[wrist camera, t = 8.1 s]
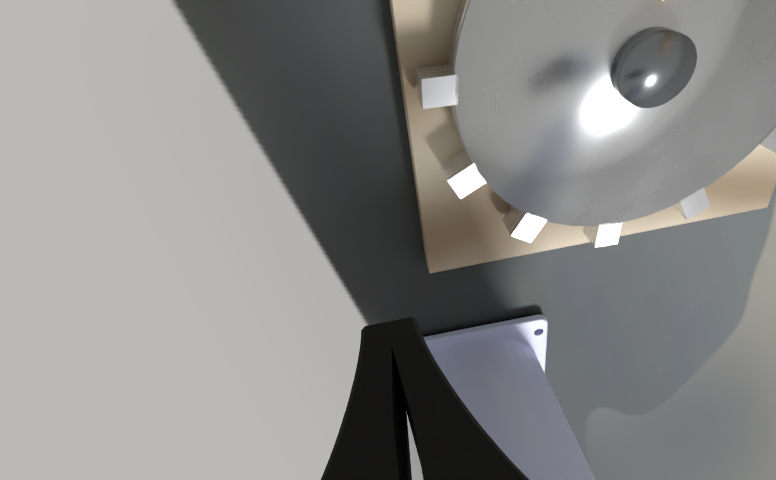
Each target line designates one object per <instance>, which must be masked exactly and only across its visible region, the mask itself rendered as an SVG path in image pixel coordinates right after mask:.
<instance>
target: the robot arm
mask: <svg viewBox="0 0 776 480" xmlns="http://www.w3.org/2000/svg"><path fill="white" fill-rule="evenodd" d="M547 327H548V323H547V320H546V318H545V317H544V316H543V315H533V316H528V317H523V318H518V319H513V320H508V321H503V322H497V323H492V324H487V325H482V326H477V327H472V328H467V329H462V330H457V331H452V332H446V333H441V334H436V335H431V336H426V337H423V336H422V334H421V331H420V329H419V326H418V323H417V320H416V319H414V318H412V317H410V318H405V319H400V320H395V321H390V322H384V323H379V324H374V325H369V326H365V327H364V328H363V329H362V330H361V344H360V352H359V358H358V363H357V369H356V373H355V378H354V381H353V386H352V389H351V394H350V398H349V401H348V405H347V408H346V411H345V415H344V418H343V421H342V424H341V427H340V430H339V434H338V436H337V439H336V442H335V445H334V448H333V451H332V453H331V456H330V459H329V461H328V464H327V466H326V469H325V471H324V473H323V476H322V478H321V480H412V476H411V464H410V451H409V439H408V426H407V415H408V419H409V422H410V426H411V430H412V433H413V437H414V441H415V445H416V448H417V452H418V456H419V459H420V463H421V467H422V473H423V479H424V480H595V479H594V477H593V474H592V472H591V470H590V468H589V466H588V464H587V462H586V460H585V457H584V455H583V453H582V451H581V449H580V447H579V445H578V443H577V441H576V438H575V436H574V434H573V432H572V430H571V428H570V426H569V424H568V422H567V419H566V417H565V415H564V413H563V411H562V409H561V407H560V405H559V402H558V400H557V398H556V396H555V394H554V392H553V390H552V388H551V386H550V383H549V381H548V379H547V377H546V375H545V360H546V343H547ZM537 329H538V330H537ZM406 411H407V414H406Z"/></svg>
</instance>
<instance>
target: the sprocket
mask: <svg viewBox="0 0 776 480" xmlns="http://www.w3.org/2000/svg"><path fill="white" fill-rule="evenodd" d="M416 86H417V98H418V100H419V102H420V104H421V106H422V108H423V109H428V108H435V107H443V106H450V108H451V112H452V117H453V121H454V125H455V127H456V130H457V133H458V135H459V138H460V140H461V143H462V145H463V146H464V148H465V150H464V151H463V152H461V153H460V154H458V155H457V156H455V157H454V158H452V159H451V160H449V161H448V162H446V163H445V164H443V165H442V166H441V168H442V170H443V173H444V175H445V177H446V179H447V181H448V183H449V184H450V185H451V187H452V188H453V189H454V191H455V192H456V194H457V195H458V196H459V198H460V199H462V198H463V197H465V196H466V195H468V194H469V193H471V192H472V191H474V190H475V189H477V188H479V187H480V186H482V185H483V184H485V183H487V184H488V185H489V187H490V188H491V189H492V190H493V191H494V192H495V193H496V194H498V195H499V196H500V197H501V198H502V199H503V200H504V201H506V202H507V203H509V204H510V205H512V206H511V208H510V209H509V211H508V212H507V213H506V215H505V216H504V218H503V219H502V220H503V222H504V224H505V226H506V228H507V229H508V231H509V233H510V235H511V236H513V237H516V238H519V239H522V240H525V241H528V242H532V240H533V239H534V238H535V236H536V235H537V234H538V232H539V231H540V229H541V228H542V227H543V225H544V224H545V223H546V221H548V222H551V223H556V224H562V225H569V226H583V231H582V232H583V233H584V234H585V236H586V237H587V238H588V239H589V241H590V242H591V243H592V244H593V246H594V247H601V246H608V245H615V244H618V240H619V236H620V232H621V227H622V223H623V222H627V221H631V220H635V219H638V218H641V217H645V216H648V215H651V214H654V213H656V212H659V211H661V210H664V209H666V208H669V207H671V206H672V207H673V208H674V209H675V210H676V211H677V212H679V213H680V214H681V215H682V216H683V217H684V218H685V219H687V220H688V219H689V218H691V217H693V216H695V215H697V214H699V213H700V212H702V211H704V210H706V209H708V208H709V207H710V204H709V201H708V198H707V195H706V192H705V189H704V188H706V187H707V186H709V185H711V184H712V183H714V182H715V181H716V180H718V179H719V178H720V177H722V176H723V175H724V174H726V173H727V172H729V171H730V170H731V169H733V168H734V167H735V166H736V165H737V164H738V163H740V162H741V161H742V160H743V159H744V158H745V157H747V156H748V155H749V154H750V153H751V152H752V151H753V150H754V149H755V148H756V147H757V146H758V145H759V144H760V145H762V146H763V147H765V148H767V149H769V150H771V151H773V152H775V153H776V0H461V1H460V4H459V8H458V11H457V15H456V18H455V22H454V25H453V29H452V35H451V41H450V47H449V53H448V64H447V65H439V66H432V67H424V68H416Z"/></svg>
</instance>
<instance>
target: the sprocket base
mask: <svg viewBox="0 0 776 480" xmlns="http://www.w3.org/2000/svg"><path fill="white" fill-rule="evenodd" d="M460 1H461V0H389V2H390V9H391V16H392V24H393V31H394V38H395V45H396V52H397V59H398V66H399V73H400V80H401V87H402V94H403V102H404V109H405V116H406V123H407V130H408V137H409V144H410V151H411V158H412V165H413V173H414V180H415V187H416V194H417V201H418V208H419V215H420V222H421V229H422V236H423V244H424V251H425V258H426V262H427V266H428V269H429V273H435V272H440V271H445V270H450V269H455V268H460V267H465V266H470V265H475V264H480V263H486V262H491V261H496V260H501V259H506V258H511V257H516V256H521V255H526V254H531V253H537V252H542V251H547V250H552V249H557V248H562V247H567V246H572V245H577V244H582V243H588V242H590V241H589V239H588V238H587V237H586V236H585V234H584V233H583V232H582V231H583V226H569V225H562V224H556V223H551V222H548V221H546V223H545V224H544V225H543V227H542V228H541V229H540V231H539V232H538V234H537V235H536V236H535V238H534V239H533V240H532V242H528V241H525V240H522V239H519V238H516V237H513V236H511V235H510V233H509V231H508V229H507V228H506V226H505V224H504V222H503V220H502V219H503V218H504V216H505V215H506V213H507V212H508V211H509V209H510V208H511V206H512V205H510V204H509V203H507V202H506V201H504V200H503V199H502V198H501V197H500V196H499V195H498V194H496V193H495V192H494V191H493V190H492V189H491V188H490V187H489V185H488V184H487V183H485V184H483V185H482V186H480V187H479V188H477V189H475V190H474V191H472V192H471V193H469V194H468V195H466V196H465V197H463V198H462V199H460V198H459V196H458V195H457V194H456V192H455V191H454V189H453V188H452V187H451V185H450V184H449V183H448V181H447V179H446V177H445V175H444V173H443V170H442V168H441V166H442V165H443V164H445V163H446V162H448V161H449V160H451V159H452V158H454V157H455V156H457V155H458V154H460V153H461V152H463V151H464V150H465V148H464V146H463V145H462V143H461V140H460V138H459V135H458V133H457V130H456V127H455V125H454V121H453V117H452V112H451V108H450V106H443V107H435V108H428V109H423V108H422V106H421V104H420V102H419V100H418V98H417V86H416V68H424V67H432V66H439V65H447V64H448V53H449V47H450V41H451V35H452V29H453V25H454V22H455V18H456V15H457V11H458V8H459V4H460ZM775 185H776V153H775V152H773V151H771V150H769V149H767V148H765V147H763V146H762V145H760V144H759V145H758V146H757V147H756V148H755V149H754V150H753V151H752V152H751V153H750V154H749V155H748V156H747V157H745V158H744V159H743V160H742V161H741V162H740V163H738V164H737V165H736V166H735V167H734V168H733V169H731V170H730V171H729V172H727V173H726V174H724V175H723V176H722V177H720V178H719V179H718V180H716V181H715V182H714V183H712V184H711V185H709V186H707V187H706V188H704V189H705V192H706V195H707V198H708V201H709V204H710V207H709V208H708V209H706V210H704V211H702V212H700V213H699V214H697V215H695V216H693V217H691V218H689V219H688V220H687V219H685V218H684V217H683V216H682V215H681V214H680V213H679V212H677V211H676V210H675V209H674V208H673V207H672V206H671V207H669V208H666V209H664V210H661V211H659V212H656V213H654V214H651V215H648V216H645V217H641V218H638V219H635V220H631V221H627V222H623V223H622V227H621V232H620V236H623V235H628V234H633V233H639V232H644V231H649V230H654V229H659V228H664V227H669V226H674V225H679V224H684V223H690V222H695V221H700V220H705V219H710V218H715V217H720V216H725V215H730V214H735V213H740V212H746V211H751V210H756V209H761V208H766V207H767V206H768V204H769V201H770V198H771V196H772V193H773V190H774V188H775Z"/></svg>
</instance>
